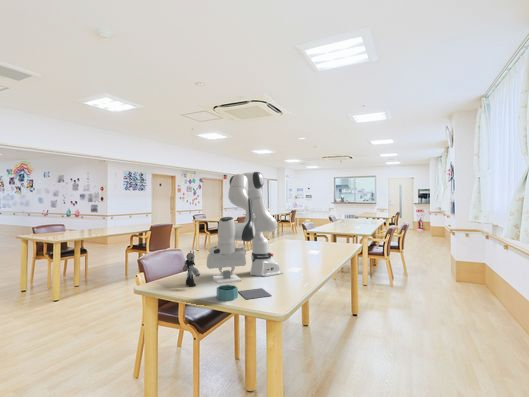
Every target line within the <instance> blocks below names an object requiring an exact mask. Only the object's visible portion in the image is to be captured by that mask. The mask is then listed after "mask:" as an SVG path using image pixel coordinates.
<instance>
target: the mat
mask: <svg viewBox="0 0 529 397" xmlns="http://www.w3.org/2000/svg"><path fill="white" fill-rule="evenodd" d="M238 293H239V294H240V296H242V297H243V298H244V299H245V300H255V299H260V298H269V297H272V294H271V293H269V292H268V291H266V290H265V289H264V288H263V287H260V288H251V289H245V290H244V289H243V290H238Z"/></svg>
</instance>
